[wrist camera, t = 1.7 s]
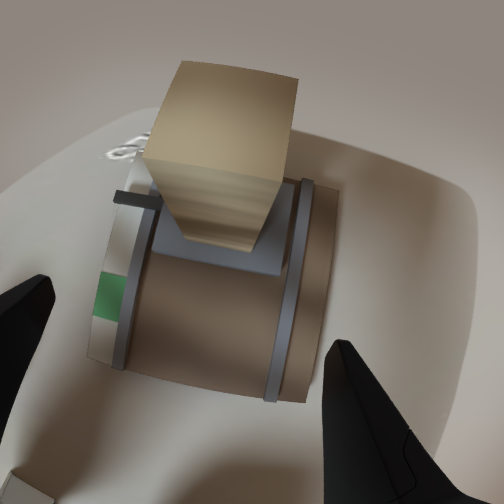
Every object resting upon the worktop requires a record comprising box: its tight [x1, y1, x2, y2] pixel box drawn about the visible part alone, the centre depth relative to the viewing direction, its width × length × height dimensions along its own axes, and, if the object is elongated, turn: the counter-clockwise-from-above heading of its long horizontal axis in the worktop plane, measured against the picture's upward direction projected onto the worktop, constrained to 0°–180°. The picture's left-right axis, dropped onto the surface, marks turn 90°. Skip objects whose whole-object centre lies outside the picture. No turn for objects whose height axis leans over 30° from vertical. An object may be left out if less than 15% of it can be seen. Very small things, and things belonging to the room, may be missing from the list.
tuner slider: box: [113, 61, 299, 277], centre depth 14 cm, size 6×12×12 cm, turn 79°
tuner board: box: [87, 151, 339, 403], centre depth 20 cm, size 15×15×2 cm
